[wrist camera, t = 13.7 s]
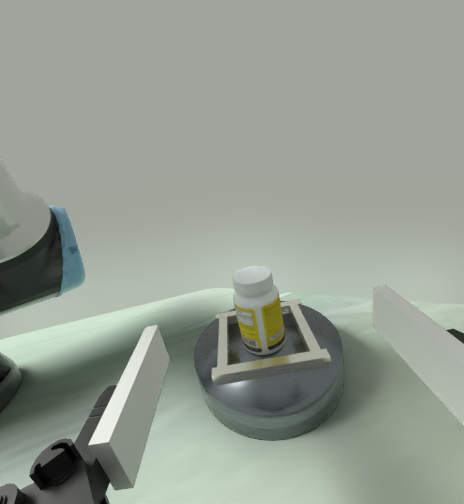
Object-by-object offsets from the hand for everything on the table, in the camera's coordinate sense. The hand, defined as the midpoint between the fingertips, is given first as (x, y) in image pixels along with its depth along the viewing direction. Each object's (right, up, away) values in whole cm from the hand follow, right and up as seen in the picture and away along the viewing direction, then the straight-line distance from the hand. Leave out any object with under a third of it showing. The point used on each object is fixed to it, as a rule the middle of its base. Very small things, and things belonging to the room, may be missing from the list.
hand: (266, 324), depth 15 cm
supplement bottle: (+1, -6, +12) cm, 14 cm away
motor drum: (+2, -9, +14) cm, 17 cm away
